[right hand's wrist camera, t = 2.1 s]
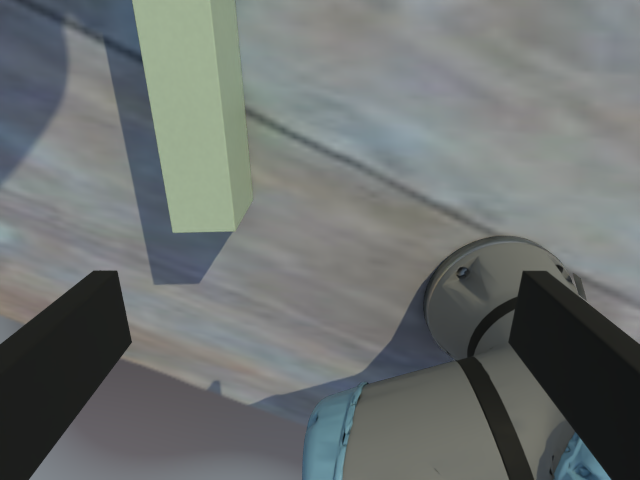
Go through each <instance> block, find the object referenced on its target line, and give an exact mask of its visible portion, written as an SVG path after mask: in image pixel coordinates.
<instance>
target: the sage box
mask: <svg viewBox="0 0 640 480" xmlns="http://www.w3.org/2000/svg"><path fill="white" fill-rule="evenodd" d="M132 3H133V9H134V15H135V20H136V26H137V32H138V38H139V43H140V49H141V55H142V60H143V66H144V72H145V78H146V83H147V89H148V95H149V100H150V106H151V112H152V118H153V123H154V129H155V135H156V141H157V146H158V152H159V158H160V163H161V169H162V175H163V181H164V186H165V192H166V198H167V203H168V209H169V215H170V221H171V226H172V232H173V233H193V232H234V231H236V229H237V228H238V226H239V224H240V222H241V221H242V219H243V217H244V215H245V214H246V212H247V210H248V208H249V206H250V205H251V203H252V201H253V193H252V182H251V171H250V160H249V149H248V138H247V127H246V116H245V105H244V94H243V83H242V72H241V61H240V49H239V38H238V27H237V16H236V5H235V0H132Z"/></svg>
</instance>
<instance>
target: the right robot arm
mask: <svg viewBox="0 0 640 480" xmlns="http://www.w3.org/2000/svg"><path fill="white" fill-rule="evenodd" d="M573 276H574V280H575V283H576V287H577V290H578V292H577V290H576V288H575V286H574V284H573V283H572V280H571V278H570V276H569V274H568V272H567V270H566V269H565V267H564V265H563V264H562V263H561V262H560V261H559V260H558V259H557V258H556V257H555V256H554V255H553V254H551V253H550V252H549V251H547V250H546V249H545V248H543V247H542V246H540V245H538V244H537V243H535V242H532V241H530V240H527V239H524V238H520V237H514V236H495V237H489V238H485V239H481V240H478V241H475V242H472V243H470V244H468V245H466V246H464V247H462V248H460V249H459V250H457V251H456V252H454V253H453V254H452V255H450V256H449V257H448V258H447V259H446V260H445V261H444V262H443V263H442V264H441V265H440V266H439V267H438V269H437V270H436V271H435V273H434V274H433V276H432V277H431V279H430V281H429V283H428V286H427V289H426V292H425V296H424V316H425V320H426V323H427V325H428V328H429V330H430V332H431V334H432V336H433V338H434V340H435V341H436V343H437V344H438V345H439V347H440V348H441V349H442V350H443V351H445V352H446V353H447V354H448V355H449V356H451V357H452V358H453V359H455V360H457V361H451V362H448V363H444V364H440V365H437V366H433V367H429V368H426V369H422V370H418V371H415V372H411V373H407V374H404V375H400V376H396V377H393V378H389V379H385V380H382V381H378V382H374V383H371V384H369V383H367V382H362V383H360V384H359V385H358V386H357V387H355V388H352V389H348V390H345V391H342V392H339V393H336V394H333V395H330V396H328V397H326V398H324V399H323V400H321V401H320V402H319V403H318V404H317V405H316V407H315V408H314V410H313V412H312V414H311V416H310V419H309V422H308V426H307V431H306V435H305V441H304V450H303V469H302V480H640V344H639V343H637V342H636V341H635V340H634V339H632V338H631V337H630V336H628V335H627V334H626V333H625V332H623V331H622V330H621V329H620V328H618V327H617V326H616V325H615V324H613V323H612V322H611V321H609V320H608V319H607V318H606V317H604V316H603V315H602V314H601V313H599V312H598V311H597V310H596V309H594V308H593V307H592V306H591V305H589V304H588V303H587V302H585V301H584V300H583V299H582V298H580V296H581V297H583V298H584V299H585V300H586V296H585V292H584V289H583V285H582V282H581V278H579V277H578V276H577V275H575V274H574V273H573ZM579 295H580V296H579ZM586 301H587V300H586ZM131 343H132V341H131V336H130V331H129V326H128V321H127V316H126V311H125V306H124V301H123V297H122V292H121V287H120V282H119V277H118V272H117V271H93V272H91V273H90V274H89V275H87V276H86V277H85V278H84V279H82V280H81V281H80V282H79V283H77V284H76V285H75V286H74V287H72V288H71V289H70V290H68V291H67V292H66V293H65V294H63V295H62V296H61V297H60V298H58V299H57V300H56V301H55V302H53V303H52V304H51V305H49V306H48V307H47V308H46V309H44V310H43V311H42V312H41V313H39V314H38V315H37V316H36V317H34V318H33V319H32V320H31V321H29V322H28V323H27V324H25V325H24V326H23V327H22V328H20V329H19V330H18V331H17V332H15V333H14V334H13V335H12V336H10V337H9V338H8V339H6V340H5V341H4V342H3V343H1V344H0V480H29V479H30V477H31V476H32V475H33V473H34V472H35V471H36V469H37V468H38V467H39V465H40V464H41V463H42V461H43V460H44V459H45V457H46V456H47V455H48V453H49V452H50V451H51V449H52V448H53V447H54V445H55V444H56V443H57V441H58V440H59V439H60V437H61V436H62V435H63V433H64V432H65V431H66V429H67V428H68V427H69V425H70V424H71V423H72V421H73V420H74V419H75V417H76V416H77V415H78V413H79V412H80V411H81V409H82V408H83V407H84V405H85V404H86V403H87V401H88V400H89V399H90V397H91V396H92V395H93V393H94V392H95V391H96V389H97V388H98V387H99V385H100V384H101V383H102V381H103V380H104V379H105V377H106V376H107V375H108V373H109V372H110V371H111V369H112V368H113V367H114V365H115V364H116V363H117V361H118V360H119V359H120V357H121V356H122V355H123V353H124V352H125V351H126V349H127V348H128V347H129V345H130V344H131Z"/></svg>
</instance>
